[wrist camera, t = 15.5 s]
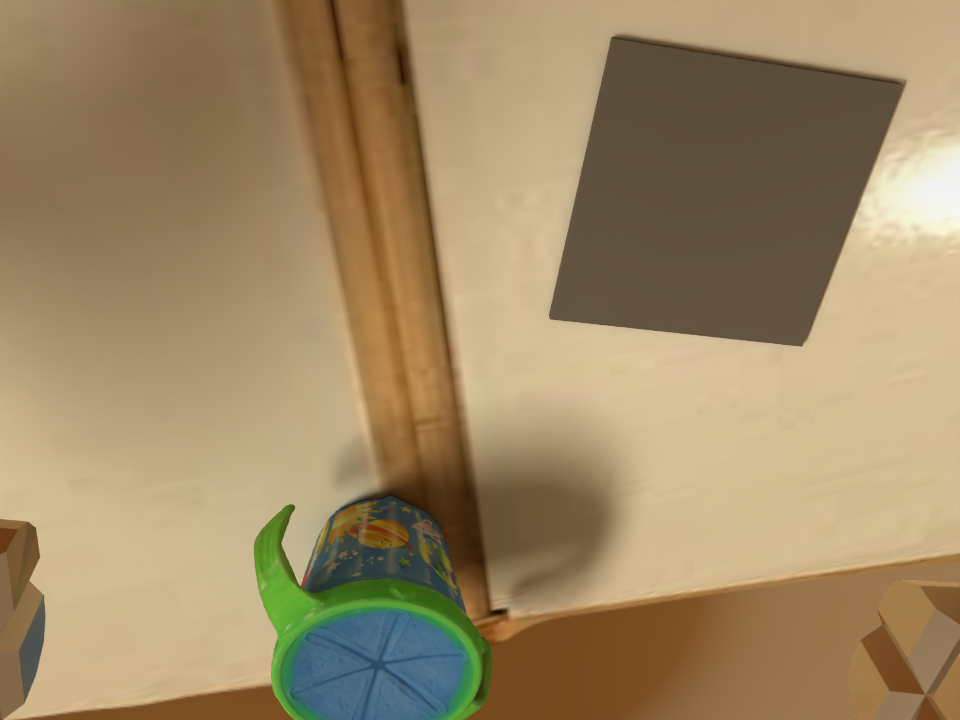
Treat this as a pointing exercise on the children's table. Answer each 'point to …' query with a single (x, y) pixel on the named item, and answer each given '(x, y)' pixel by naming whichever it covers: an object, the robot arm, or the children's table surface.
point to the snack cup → (371, 620)
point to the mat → (716, 193)
